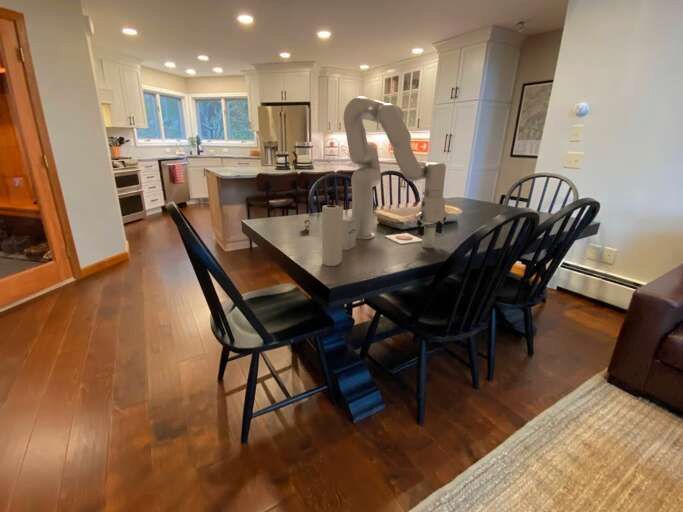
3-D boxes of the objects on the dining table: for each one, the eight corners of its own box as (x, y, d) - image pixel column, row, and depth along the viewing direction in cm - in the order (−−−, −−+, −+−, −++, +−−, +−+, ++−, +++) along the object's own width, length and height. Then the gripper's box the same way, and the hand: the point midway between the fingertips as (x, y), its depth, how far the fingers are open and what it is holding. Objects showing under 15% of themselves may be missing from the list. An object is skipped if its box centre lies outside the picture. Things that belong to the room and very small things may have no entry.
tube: (426, 248, 140) (429, 226, 137) (418, 245, 145) (421, 223, 141) (436, 247, 142) (438, 224, 139) (428, 244, 147) (430, 222, 143)
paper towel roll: (322, 266, 118) (322, 207, 111) (322, 260, 124) (322, 204, 117) (342, 266, 118) (343, 207, 111) (342, 260, 124) (343, 204, 117)
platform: (318, 227, 173) (318, 214, 171) (321, 236, 156) (321, 223, 154) (295, 227, 171) (295, 215, 169) (295, 237, 154) (295, 223, 152)
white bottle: (347, 251, 135) (348, 221, 131) (332, 247, 139) (332, 218, 135) (356, 246, 141) (357, 217, 137) (341, 243, 145) (342, 215, 141)
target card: (400, 244, 145) (400, 243, 145) (384, 237, 156) (384, 235, 156) (424, 241, 150) (424, 239, 150) (406, 234, 161) (406, 232, 161)
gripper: (422, 196, 129) (419, 238, 135) (456, 193, 136) (451, 233, 142) (410, 193, 135) (407, 233, 141) (443, 191, 143) (439, 229, 148)
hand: (429, 233), depth 141 cm, fingers open, 9 cm apart
